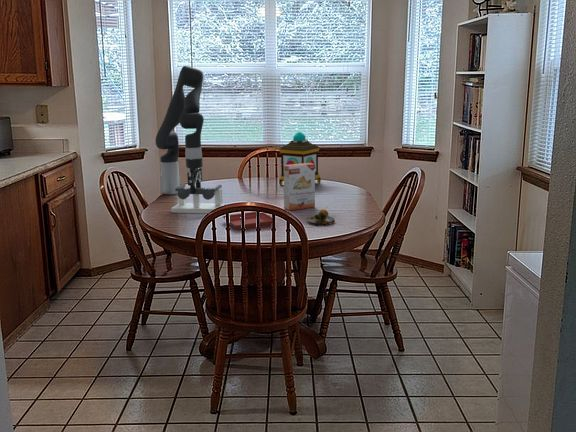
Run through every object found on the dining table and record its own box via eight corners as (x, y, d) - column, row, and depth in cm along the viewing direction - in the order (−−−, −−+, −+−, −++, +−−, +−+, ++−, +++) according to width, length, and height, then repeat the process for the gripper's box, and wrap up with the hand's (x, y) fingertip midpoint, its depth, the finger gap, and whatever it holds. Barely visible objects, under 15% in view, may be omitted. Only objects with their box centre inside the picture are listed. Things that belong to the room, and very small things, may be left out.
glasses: (175, 199, 275) (175, 188, 274) (183, 194, 285) (183, 184, 284) (215, 199, 272) (214, 189, 270) (222, 195, 282) (221, 184, 281)
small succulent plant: (311, 219, 259) (310, 202, 257) (337, 220, 256) (337, 203, 254) (303, 225, 248) (303, 208, 246) (331, 227, 244) (331, 209, 243)
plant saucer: (235, 232, 239) (235, 224, 239) (222, 222, 256) (221, 215, 255) (276, 227, 246) (276, 219, 246) (261, 218, 263) (260, 210, 262)
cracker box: (289, 211, 273) (288, 166, 268) (283, 208, 278) (282, 164, 273) (315, 207, 279) (315, 163, 274) (309, 205, 284) (309, 162, 279)
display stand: (171, 212, 275) (169, 191, 273) (180, 206, 287) (178, 186, 284) (218, 213, 271) (217, 192, 269) (225, 207, 283) (225, 187, 280)
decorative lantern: (295, 180, 351) (295, 129, 344) (324, 183, 340) (323, 130, 333) (275, 185, 335) (274, 132, 328) (304, 189, 324) (303, 134, 317)
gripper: (191, 154, 278) (193, 189, 281) (180, 159, 264) (182, 195, 268) (206, 154, 276) (208, 189, 280) (196, 159, 263) (198, 195, 266)
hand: (195, 192), depth 274 cm, fingers open, 7 cm apart
